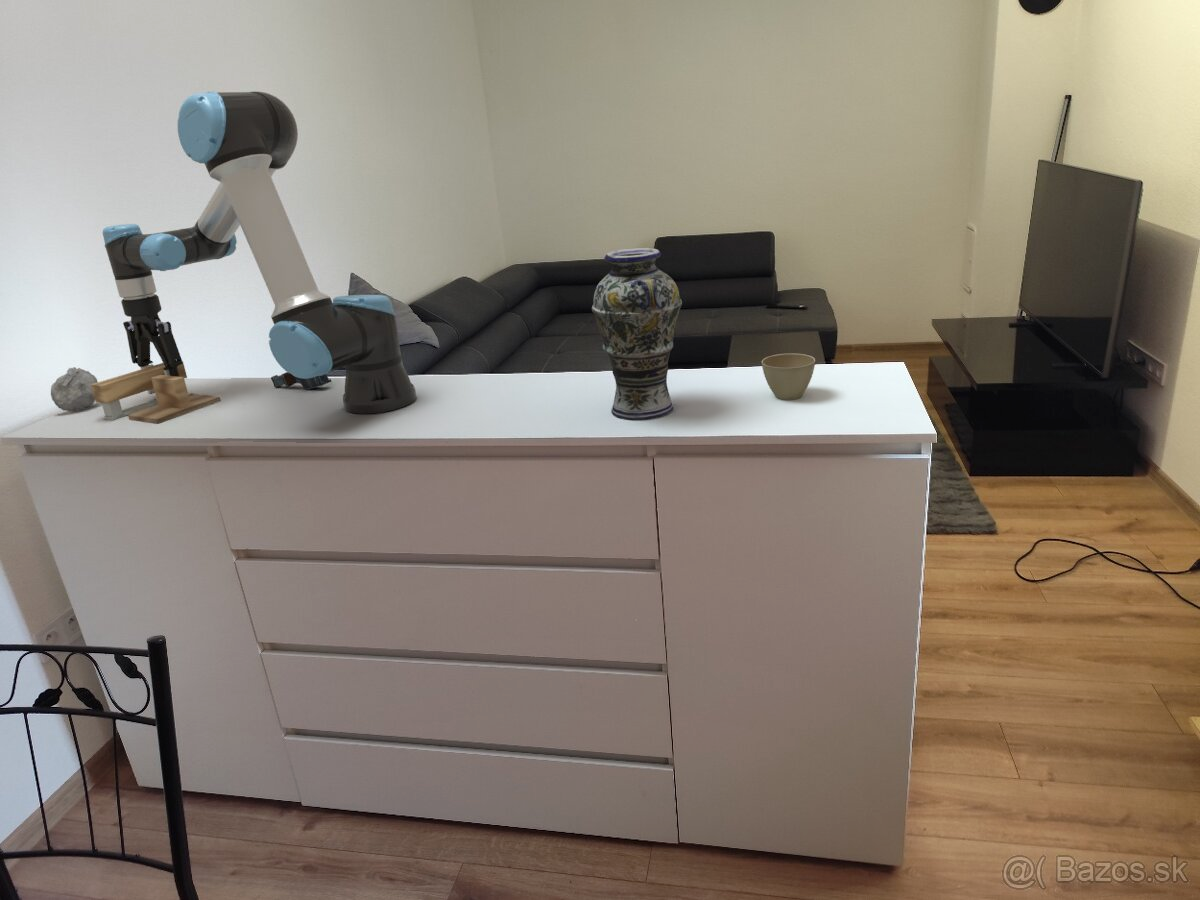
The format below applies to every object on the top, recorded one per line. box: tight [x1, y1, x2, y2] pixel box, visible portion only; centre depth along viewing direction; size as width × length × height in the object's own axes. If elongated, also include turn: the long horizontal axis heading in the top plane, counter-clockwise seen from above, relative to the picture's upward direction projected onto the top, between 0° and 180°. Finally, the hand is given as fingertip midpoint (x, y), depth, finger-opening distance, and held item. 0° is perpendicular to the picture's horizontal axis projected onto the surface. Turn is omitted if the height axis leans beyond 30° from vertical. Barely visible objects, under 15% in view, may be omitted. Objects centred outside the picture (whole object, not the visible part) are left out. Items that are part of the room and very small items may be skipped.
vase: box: [591, 247, 683, 421], centre depth 159 cm, size 17×17×30 cm
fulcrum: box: [127, 375, 222, 424], centre depth 189 cm, size 10×16×8 cm, turn 151°
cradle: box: [101, 398, 158, 421], centre depth 194 cm, size 3×19×4 cm, turn 151°
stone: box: [50, 367, 99, 412], centre depth 195 cm, size 9×7×10 cm
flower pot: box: [761, 353, 816, 401], centre depth 164 cm, size 10×10×7 cm
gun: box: [270, 371, 332, 391], centre depth 197 cm, size 3×17×15 cm
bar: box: [91, 360, 188, 404], centre depth 193 cm, size 4×20×4 cm, turn 151°
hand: (165, 393), depth 198 cm, fingers open, 8 cm apart
